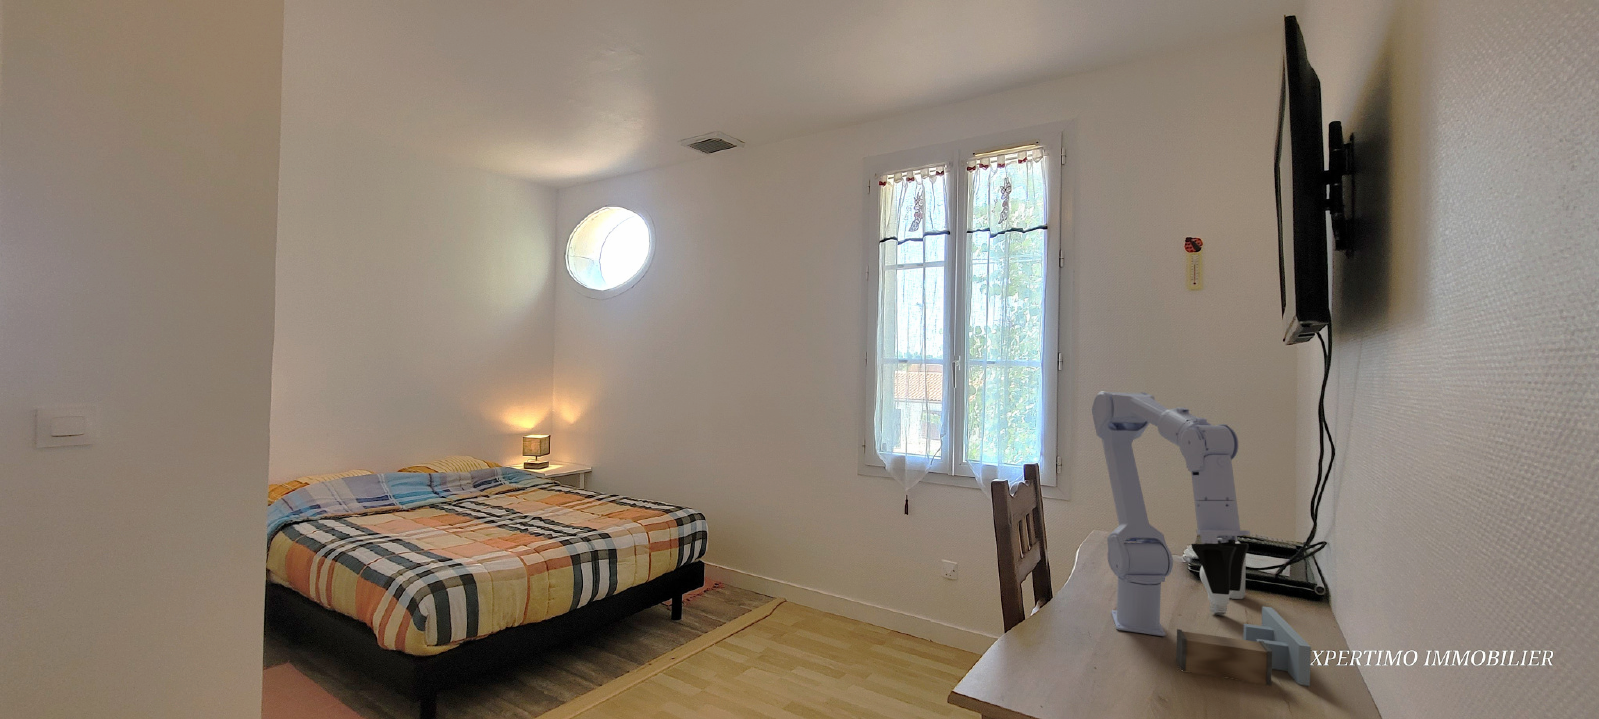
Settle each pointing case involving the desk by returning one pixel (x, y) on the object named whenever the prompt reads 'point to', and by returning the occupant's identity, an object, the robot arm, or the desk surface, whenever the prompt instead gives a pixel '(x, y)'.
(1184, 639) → the half pipe ramp
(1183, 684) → the desk surface
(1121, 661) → the desk surface
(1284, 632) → the grey footed slab
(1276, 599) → the desk surface
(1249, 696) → the desk surface
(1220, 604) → the light bulb
